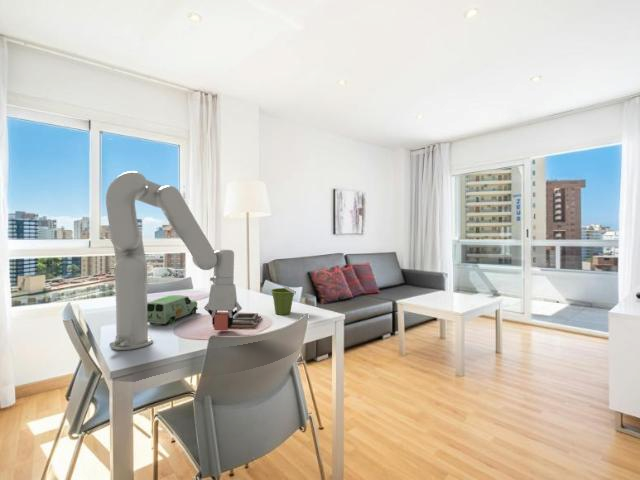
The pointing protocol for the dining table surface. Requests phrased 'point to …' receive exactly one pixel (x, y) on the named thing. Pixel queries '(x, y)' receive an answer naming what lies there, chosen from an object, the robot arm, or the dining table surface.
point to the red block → (221, 321)
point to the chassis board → (245, 320)
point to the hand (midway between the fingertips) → (222, 326)
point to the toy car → (170, 309)
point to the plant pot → (282, 300)
